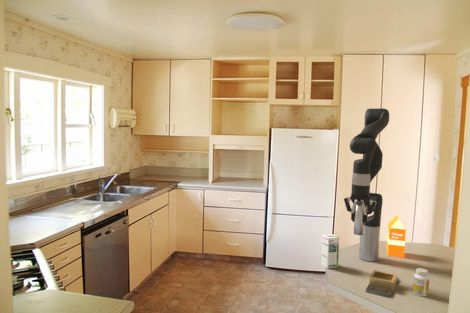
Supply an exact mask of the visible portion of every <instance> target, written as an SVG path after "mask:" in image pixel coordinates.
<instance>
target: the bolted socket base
mask: <svg viewBox="0 0 470 313" xmlns="http://www.w3.org/2000/svg"><path fill="white" fill-rule="evenodd" d="M368 281H369V282H368V285H367V286H366V288H365V292H366V293H370V294H373V295H378V296H381V297H386V298H391V296H392V294H393V293H394V290H395V288H396V286H397V283H398V281H399V276H397V274H393V273H389V272H386V271H385V272H384V271H382V270H381V271H380V270H376V269H374V270H373V271H372V272H371V274H370V275H369V280H368Z"/></svg>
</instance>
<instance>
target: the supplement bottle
mask: <svg viewBox="0 0 470 313" xmlns="http://www.w3.org/2000/svg"><path fill="white" fill-rule="evenodd" d="M428 272H429V271H428V269H426V268H421V267H418V268H416V271H415V273H414V274H413V288H412V289H413V290H412V293H413V294H414V295H416V296H419V297H428V296H429V288H430V276H429V275H428V274H429V273H428Z"/></svg>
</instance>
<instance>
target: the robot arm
mask: <svg viewBox="0 0 470 313" xmlns="http://www.w3.org/2000/svg"><path fill="white" fill-rule="evenodd" d="M389 122H390V111H389V109H387V108H383V107H382V108H366V110H365V114H364V127H363V129H362V130H361V132H360V133H359V134H357V135H355V136H354V137H353V138H352V139H351V141H350V143H349V149H350V152H352V153H353V154H355V155H357V154H358V155H362V158H359V159H355V160H354V161H353V166H352V177H351V194H350V196H348V197H344V199H343V201H344V205H345V209H346V211H347V212H349V213H350V214H351V215H350V220H351V221H352V222H353V223H354V216H355V207H356V203H355V201H363V204H362V209H363V212H364V215H363V223H364V228H363V235H359V246H358V251H359V252H358V258H359V259H360V260H362V261H365V262H377V261H379V255H380V254H379V253H380V238H381V222H382V221H381V220H382V208H383V201H384V200H383V196H382V194H380V193H376V192H375V193H374V192H371V183H372V181H373V179H374V178H375V177H376V176H377V175H378V173H379V172H380V171H381V169H382V167H383V158H384V157H383V156H384V155H383V151H382V150H381V147H380V145H379V144H378V142H377V141H376V139H377V137H378V136H379V135H380V134H381V132H382V131H384V129H385V128H386V127H387V126H388V125H389ZM364 201H365V204H364ZM350 202H352V207H351V204H350ZM368 215H369V216H368Z"/></svg>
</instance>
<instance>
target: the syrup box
mask: <svg viewBox="0 0 470 313" xmlns="http://www.w3.org/2000/svg"><path fill="white" fill-rule="evenodd" d="M339 250H340V236H337V235H335V234H333V233H332V234H322V235H321V263H320V264H321V265H322V266H323V267H324V268H325V269H328V270H329V269H337V268H339V256H340V255H339V253H340V252H339Z"/></svg>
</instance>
